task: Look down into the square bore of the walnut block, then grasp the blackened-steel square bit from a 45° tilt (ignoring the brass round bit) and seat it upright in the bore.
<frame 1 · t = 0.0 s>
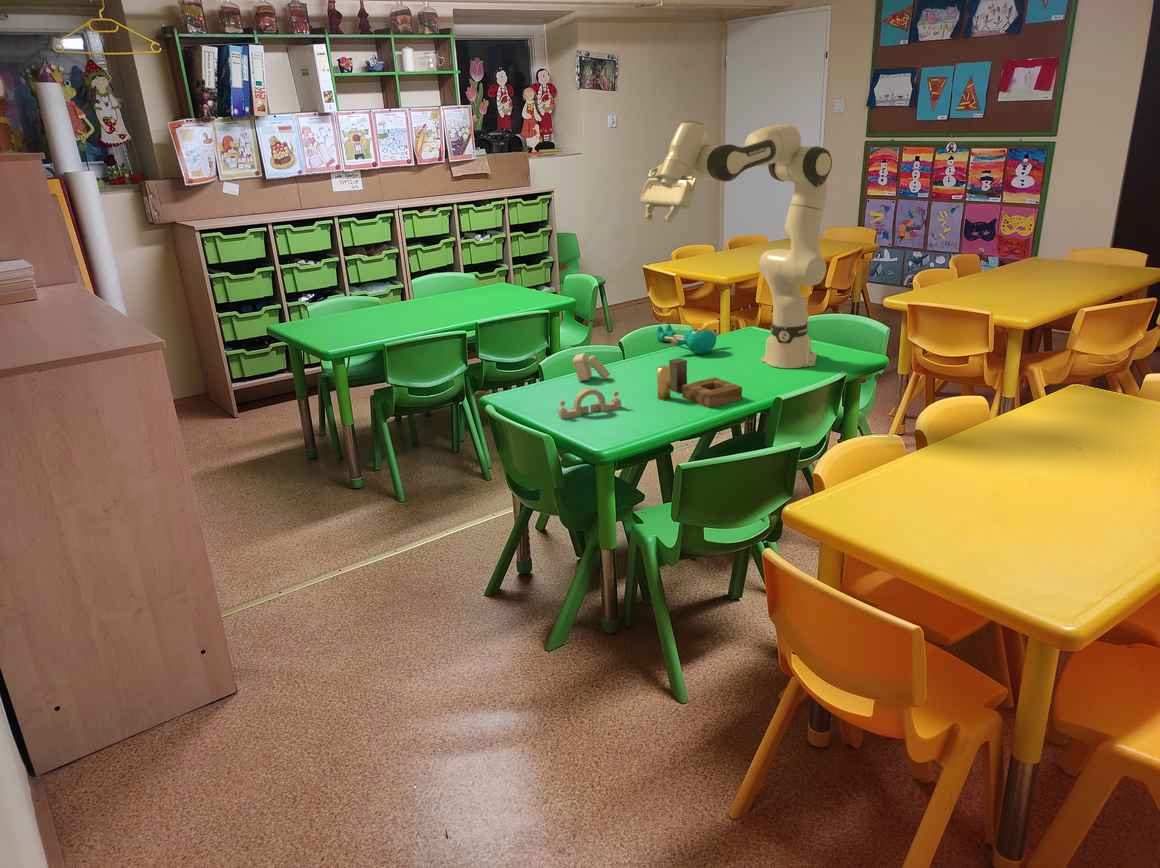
hand: (657, 220, 236), 54 cm above the table, tool tilted 30°, fingers open, 8 cm apart
gateway: (589, 414, 246), on the table
steel square bit: (678, 390, 261), on the table
toy: (684, 348, 309), on the table
brass round bit: (664, 398, 254), on the table
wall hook: (593, 379, 277), on the table
walnut bore block: (711, 398, 252), on the table
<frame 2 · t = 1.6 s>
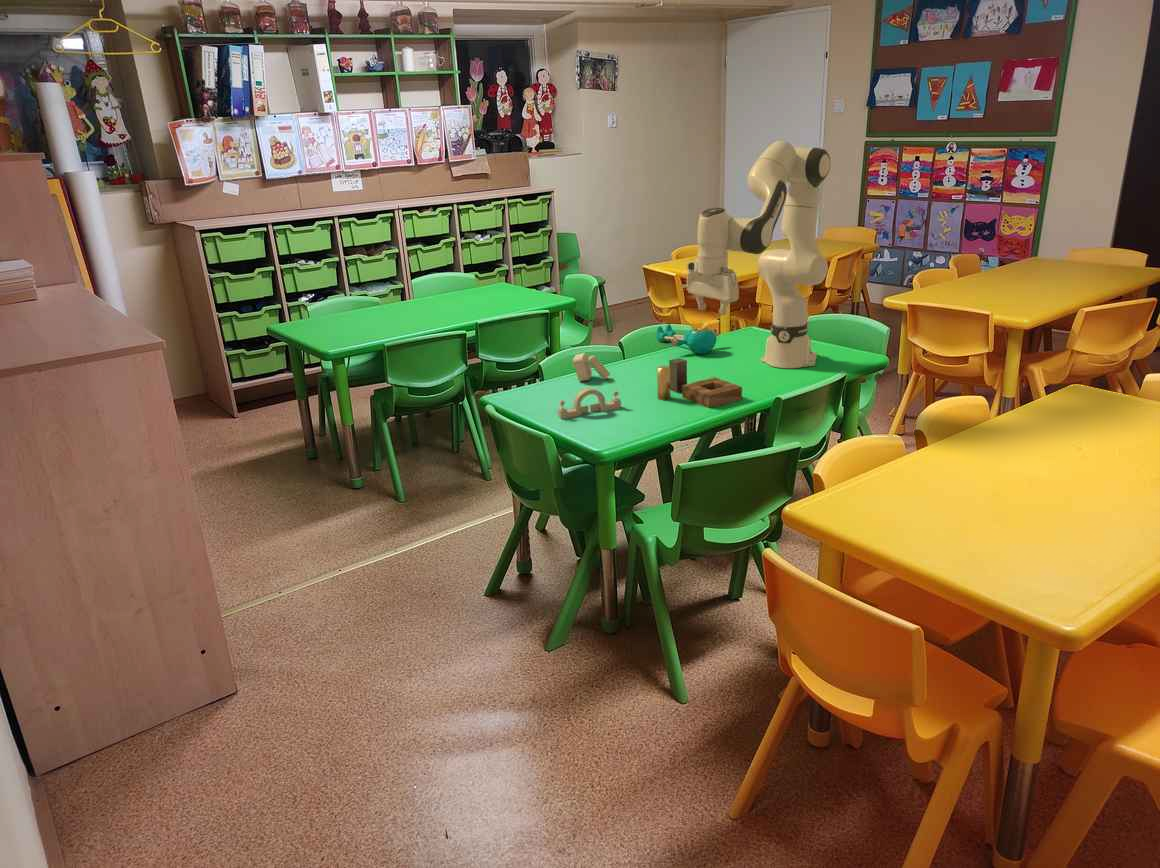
hand: (712, 312, 242), 27 cm above the table, tool pointing down, fingers open, 8 cm apart
nothing on the table moved.
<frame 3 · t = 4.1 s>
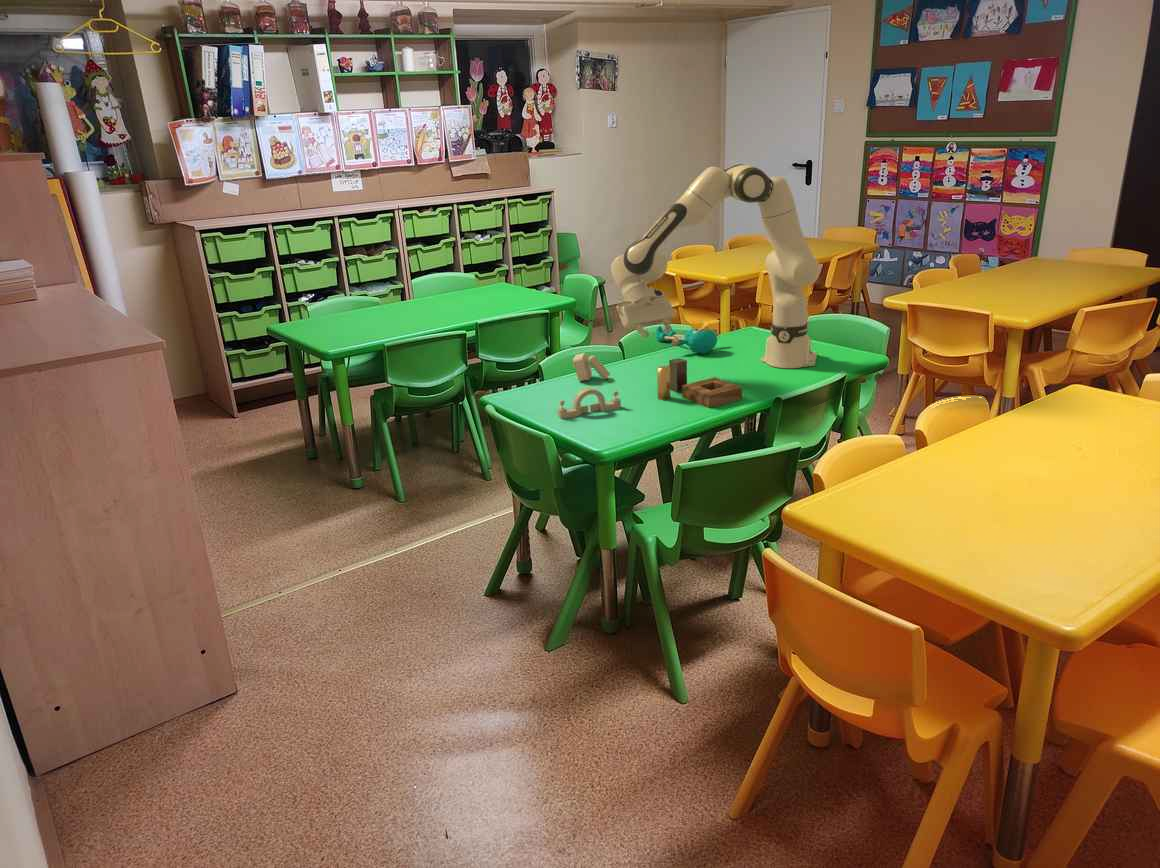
hand: (657, 334, 263), 16 cm above the table, tool tilted 45°, fingers open, 8 cm apart
nothing on the table moved.
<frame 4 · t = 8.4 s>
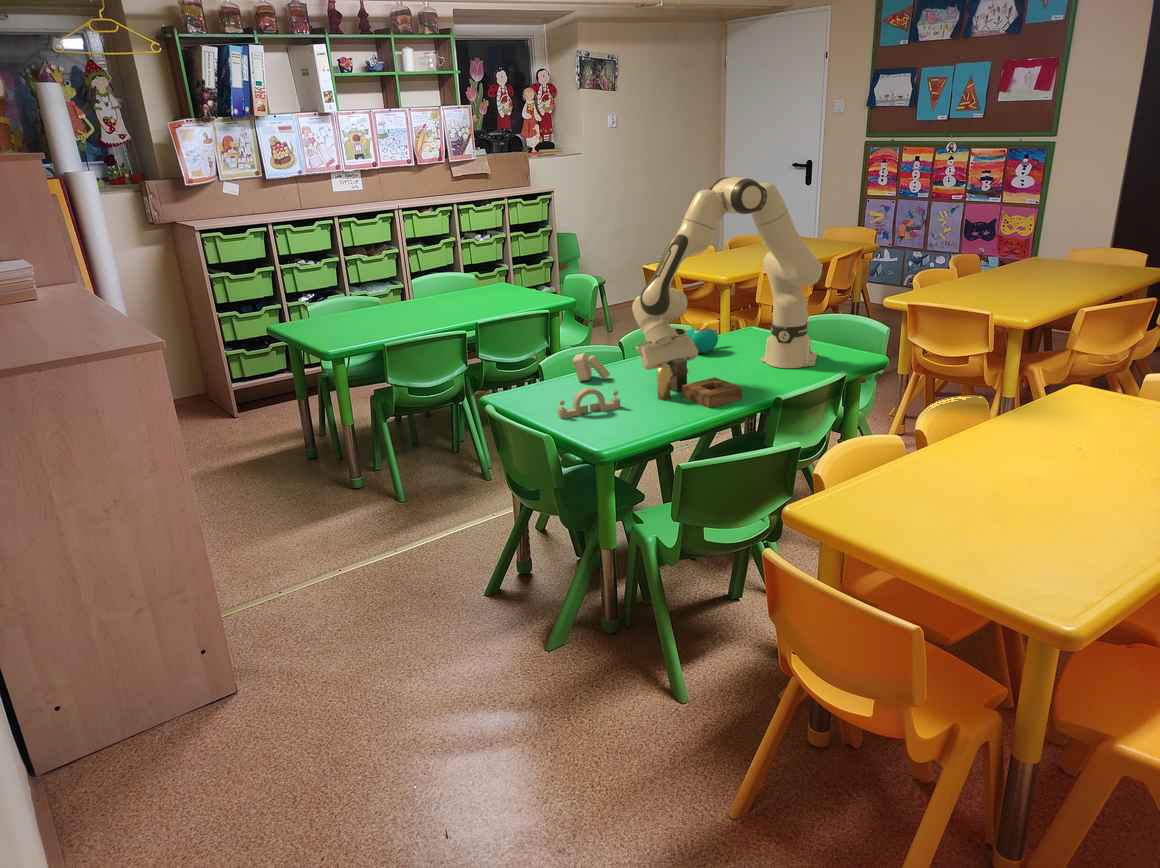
hand: (679, 374, 259), 5 cm above the table, tool tilted 45°, fingers closed on steel square bit, 4 cm apart
steel square bit: (678, 390, 261), on the table, touching gripper
everything else where it was.
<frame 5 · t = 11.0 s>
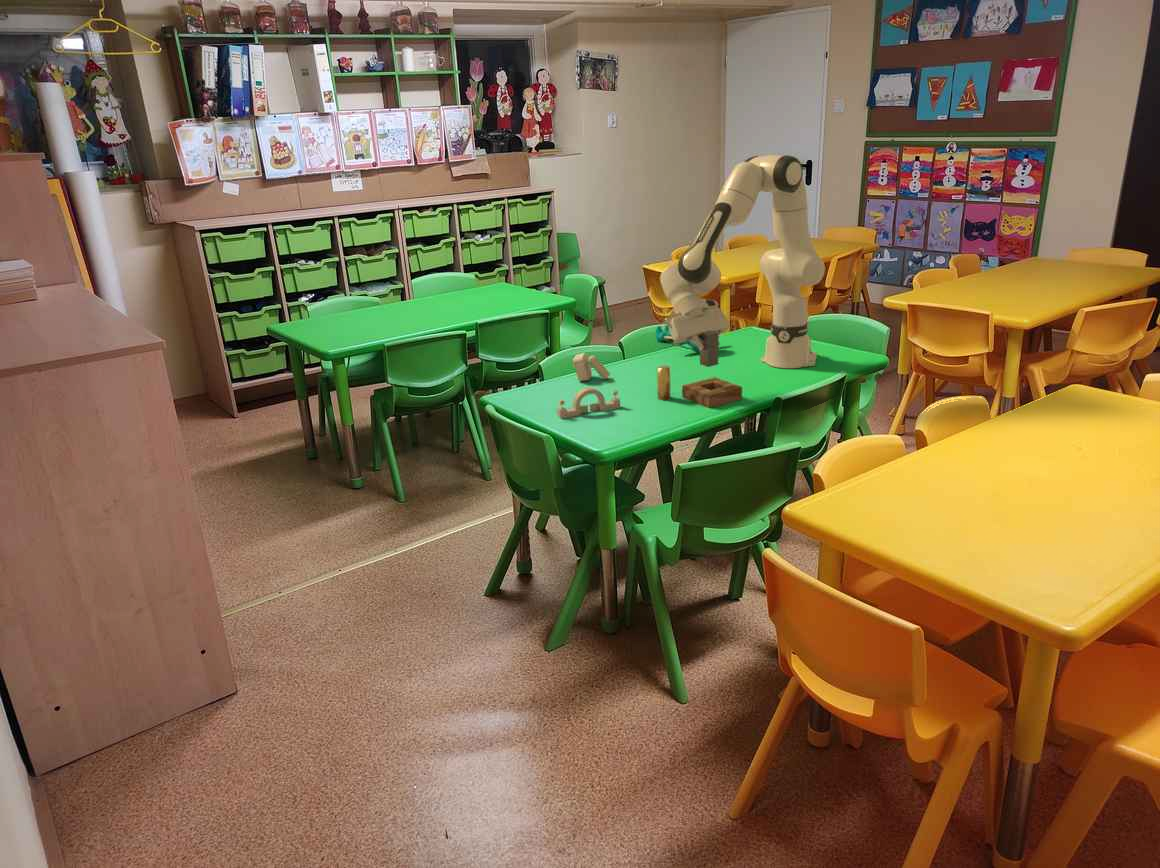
hand: (710, 347, 246), 16 cm above the table, tool tilted 45°, fingers closed on steel square bit, 4 cm apart
steel square bit: (709, 364, 249), point 11 cm above the table, touching gripper
when the fingers open (6 cm above the table, at t = 13.9 s): steel square bit stays where it is, resting in walnut bore block.
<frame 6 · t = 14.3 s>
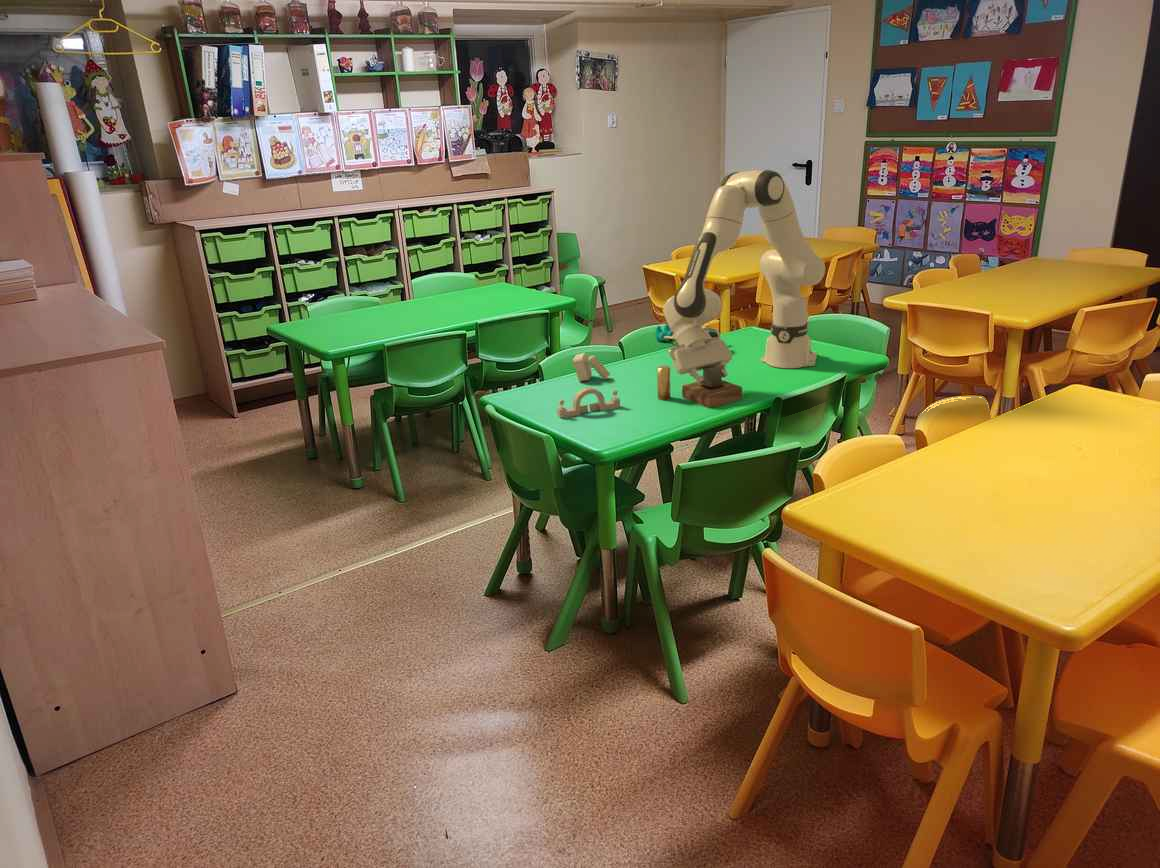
hand: (713, 379, 249), 6 cm above the table, tool tilted 45°, fingers open, 8 cm apart
steel square bit: (712, 398, 252), resting in walnut bore block
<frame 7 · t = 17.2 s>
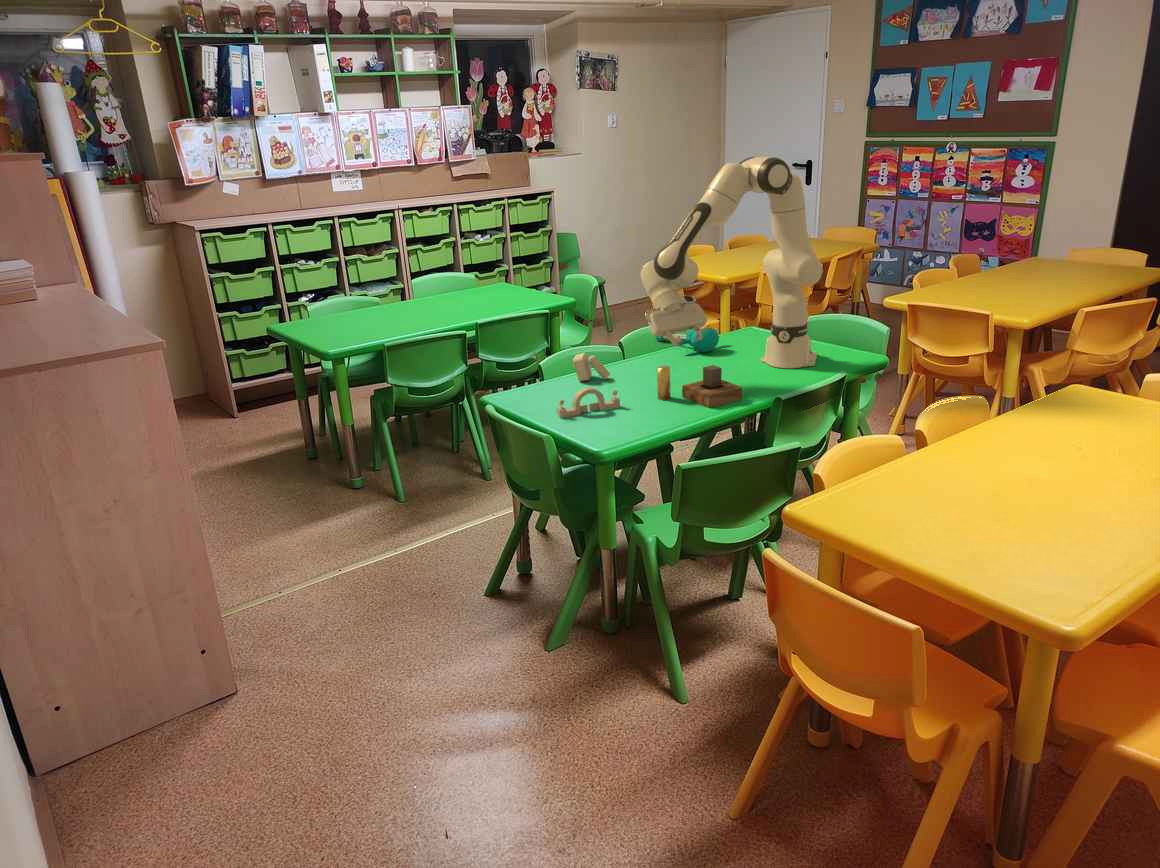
hand: (688, 341, 256), 16 cm above the table, tool tilted 45°, fingers open, 8 cm apart
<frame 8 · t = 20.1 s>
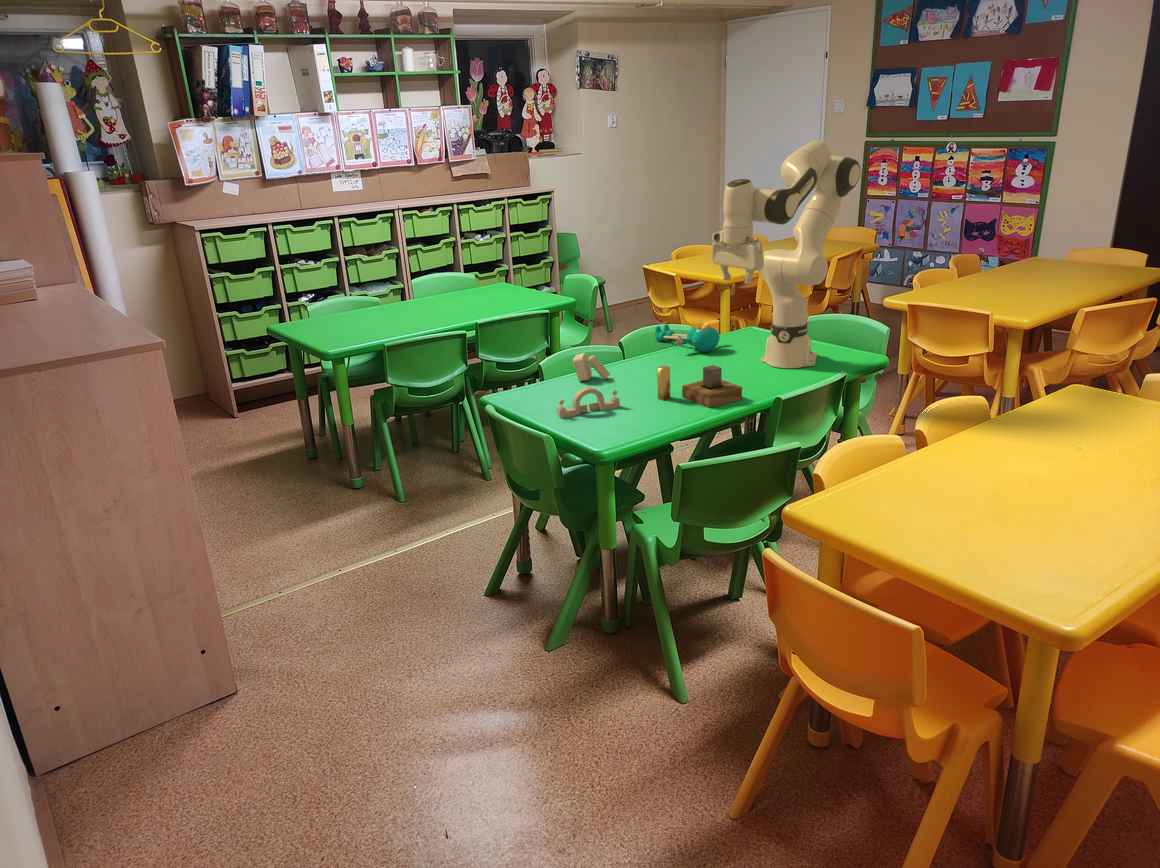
hand: (736, 281, 248), 34 cm above the table, tool pointing down, fingers open, 8 cm apart
at the end: steel square bit 0.1 cm off-centre on the walnut bore block, point 0.0 cm above the walnut bore block's base; steel square bit tilted 0°; the gripper is holding nothing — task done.
